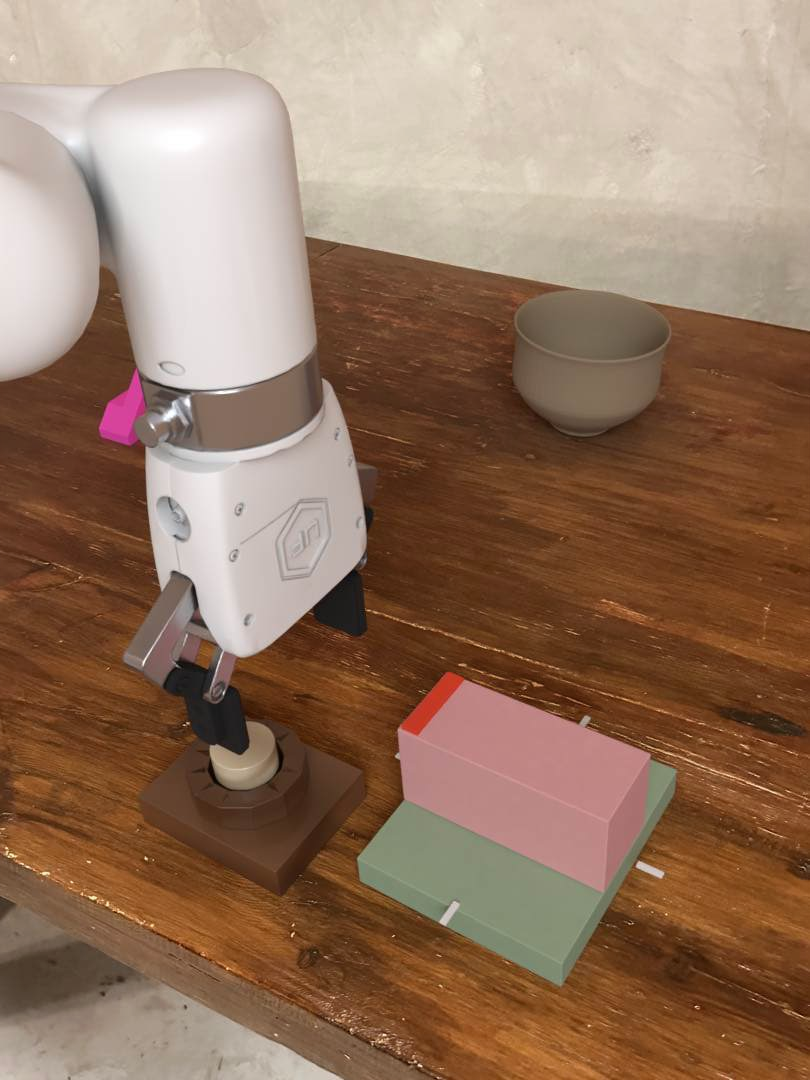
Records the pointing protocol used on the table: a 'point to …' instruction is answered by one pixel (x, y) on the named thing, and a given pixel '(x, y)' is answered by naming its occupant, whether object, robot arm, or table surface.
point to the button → (247, 760)
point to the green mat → (499, 883)
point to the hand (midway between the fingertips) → (284, 680)
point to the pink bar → (525, 779)
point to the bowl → (588, 358)
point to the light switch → (256, 809)
